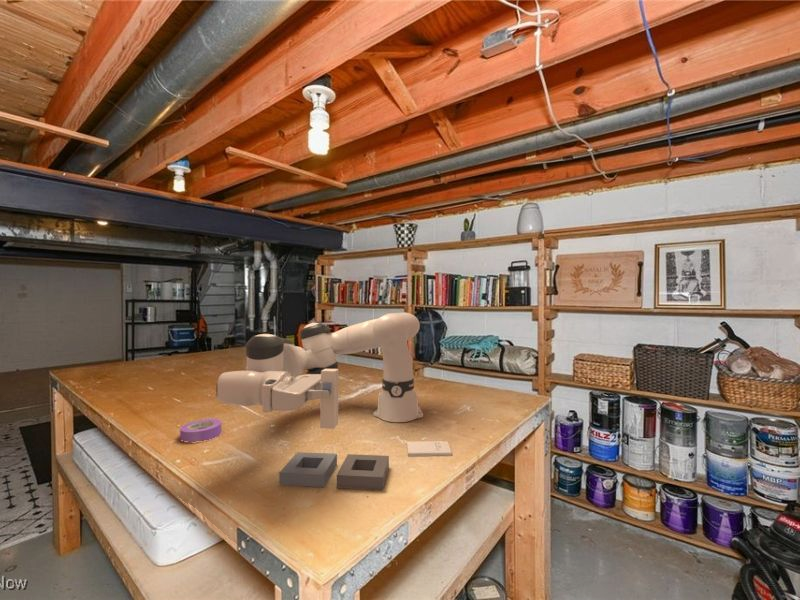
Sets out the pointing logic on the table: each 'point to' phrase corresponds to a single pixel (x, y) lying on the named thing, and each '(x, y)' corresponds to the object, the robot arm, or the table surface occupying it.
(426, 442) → the external hard drive
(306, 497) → the table surface
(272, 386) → the robot arm
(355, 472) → the socket
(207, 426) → the masking tape
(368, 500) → the table surface
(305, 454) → the socket
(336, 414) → the plug
